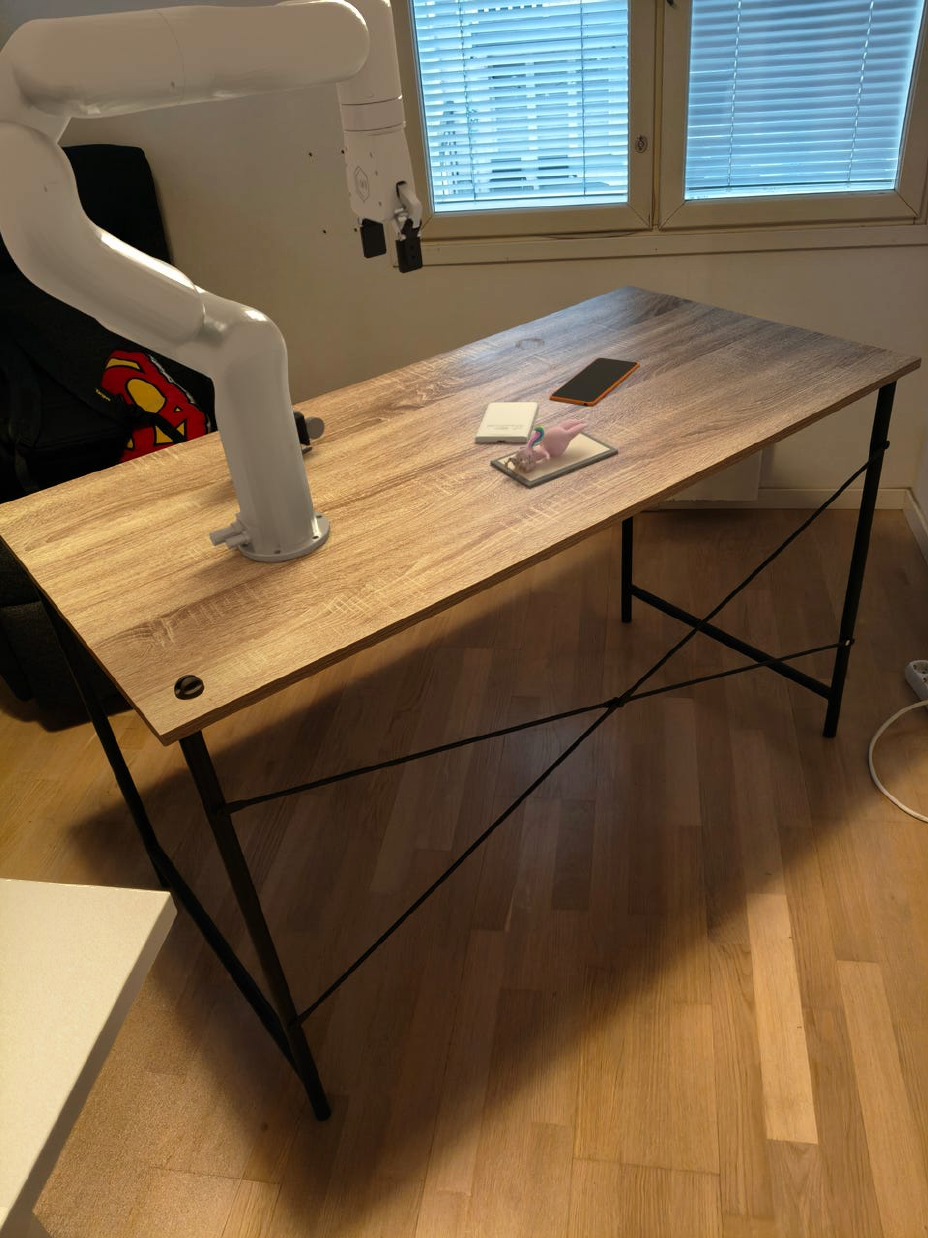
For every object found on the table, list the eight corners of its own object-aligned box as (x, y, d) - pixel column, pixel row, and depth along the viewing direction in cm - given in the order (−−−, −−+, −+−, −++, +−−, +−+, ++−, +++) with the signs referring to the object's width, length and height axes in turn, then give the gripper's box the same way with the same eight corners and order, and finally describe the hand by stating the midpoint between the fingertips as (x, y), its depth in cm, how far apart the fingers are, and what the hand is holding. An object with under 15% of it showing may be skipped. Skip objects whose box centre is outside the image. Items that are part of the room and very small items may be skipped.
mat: (529, 487, 134) (529, 484, 134) (490, 463, 141) (490, 460, 141) (618, 452, 140) (618, 449, 140) (576, 430, 147) (576, 427, 147)
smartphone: (641, 366, 166) (641, 361, 166) (593, 409, 154) (592, 403, 154) (597, 360, 170) (597, 355, 170) (547, 401, 158) (547, 396, 158)
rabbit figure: (527, 489, 136) (602, 438, 141) (519, 454, 132) (596, 403, 137) (499, 475, 140) (572, 426, 145) (491, 441, 136) (566, 392, 141)
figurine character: (301, 445, 156) (226, 474, 147) (295, 400, 152) (218, 426, 143) (329, 455, 153) (254, 485, 143) (324, 408, 149) (246, 436, 139)
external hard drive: (538, 411, 156) (527, 445, 146) (489, 411, 158) (475, 445, 148) (538, 401, 155) (527, 435, 145) (488, 402, 157) (474, 435, 147)
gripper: (314, 115, 118) (338, 257, 128) (379, 128, 106) (399, 283, 116) (367, 105, 121) (387, 244, 131) (436, 116, 109) (452, 269, 119)
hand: (393, 262), depth 124 cm, fingers open, 9 cm apart
